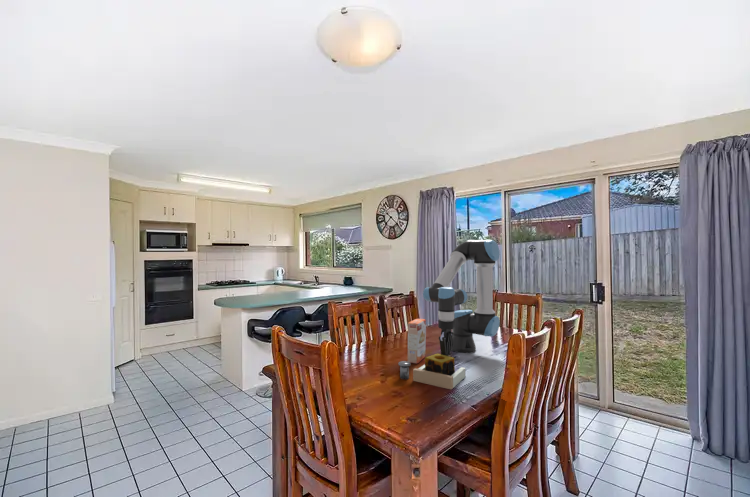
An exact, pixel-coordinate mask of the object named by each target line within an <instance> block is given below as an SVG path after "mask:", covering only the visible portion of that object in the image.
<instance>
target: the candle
mask: <svg viewBox="0 0 750 497" xmlns="http://www.w3.org/2000/svg"><path fill="white" fill-rule="evenodd" d="M424 363H425V364H424V365H425V370H426V371H430V372H435V373H440V374H445V375H449V376H451V375H452V374H454V373H455V372H456V371H455V370H456V369H455V357H453V356H451V355H449V356H446V355H442V354H441V353H434V354H431V355H429V356H428V355H427V356H425V357H424Z"/></svg>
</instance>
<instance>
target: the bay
mask: <svg viewBox="0 0 750 497" xmlns="http://www.w3.org/2000/svg"><path fill="white" fill-rule="evenodd" d="M412 378H413V379H412V381H413V382H417V383H422V384H427V385H430V386H433V387H438V388H442V389H448V390H452V389H454V388H456V386H457V385H458V384H459V383H460V382H462V381H463V380H464V379H465V378H466V367H462V366H461V367H460V368H458V369H457V370H456V371H455V373H454V374H452V375H451V376H449V375H445V374H440V373H435V372H430V371H426V370H425V364H423V365H421V366H420V367H418V368H413V370H412Z"/></svg>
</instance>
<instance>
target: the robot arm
mask: <svg viewBox="0 0 750 497" xmlns="http://www.w3.org/2000/svg"><path fill="white" fill-rule="evenodd" d="M500 255H501V254H500V248H499V245H498V243H497V242H496V241H495V240H493V239H467V240H465V241H463V242H461V243H460V244H459V245H457V246H456V247H455V248H454V249H453V250H452V252H451V253H450V256H449V257H450V258H449V260H448V261H447V263H446V264H445V266H444V267H443V268H442V270H441V271H440V273H439V275H438V276H437V277H436V279H435V281H434V282H433V284H432V286H427V287H425V288H424V290H423V292H422V297H423V299H424V300H425V301H426V302H429V303H437V304H438V311H437V315H438V318H437V319H438V321H437V322H438V323H437V326H438V328H439V329H441V332H440V335H439V336H438V340H439V346H440V347H439V348H440V354H442V355H446V356H452V351H453V352H455V353H460V354H461V353H463V354H468V353H469V354H470V353H474V352H477V350H476V348H477V347H476V343H475V340H474V337H473V335H478V336H484V337H495V336H496V334H497V333H498V331H499V328H500V324H501V322H500V321H501V320H500V317H499V316H498V315H496V311H495V310H494V309H493V308H494V307H493V305H494V304H493V303H494V302H493V300H494V299H493V293H494V292H493V291H494V290H493V288H494V287H493V284H494V283H493V280H494V279H493V273H494V272H493V270H494V268H493V267H494V266H495V265H496V261H498V260H499V259H500ZM467 261H473V264H474V265H475V266H476V308H475V310H472V309H460V310H455V306H459V305H463V304H465V303H466V302H467V300H468V294H467V293H468V292H466V290H464V289H461V288H456V289H455V288H454V287H451V286H450V285H451V284H452V282H453V280H454V279H455V277H456V275H457V273H458V272H459V271H460V270H461V267H462V265H465V264H466V263H467Z"/></svg>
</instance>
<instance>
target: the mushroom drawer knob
mask: <svg viewBox="0 0 750 497" xmlns="http://www.w3.org/2000/svg"><path fill="white" fill-rule="evenodd" d="M411 364H412V363H410V362H408V360H407V361H406V360H401V361H398V366H399V371H400V372H399V377H400V379H401V380H408V379H409V378H410V367H411Z"/></svg>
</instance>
